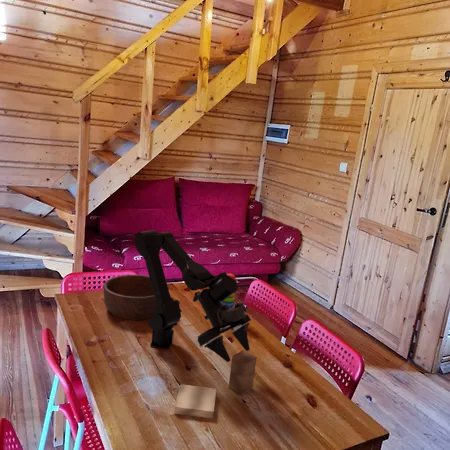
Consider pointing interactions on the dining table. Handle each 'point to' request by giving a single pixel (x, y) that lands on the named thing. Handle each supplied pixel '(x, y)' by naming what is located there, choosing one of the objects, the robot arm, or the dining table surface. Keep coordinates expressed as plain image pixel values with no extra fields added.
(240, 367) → the walnut pillar
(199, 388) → the birch plinth
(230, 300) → the stacking toy
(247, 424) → the dining table surface
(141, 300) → the wooden bowl
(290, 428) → the dining table surface
